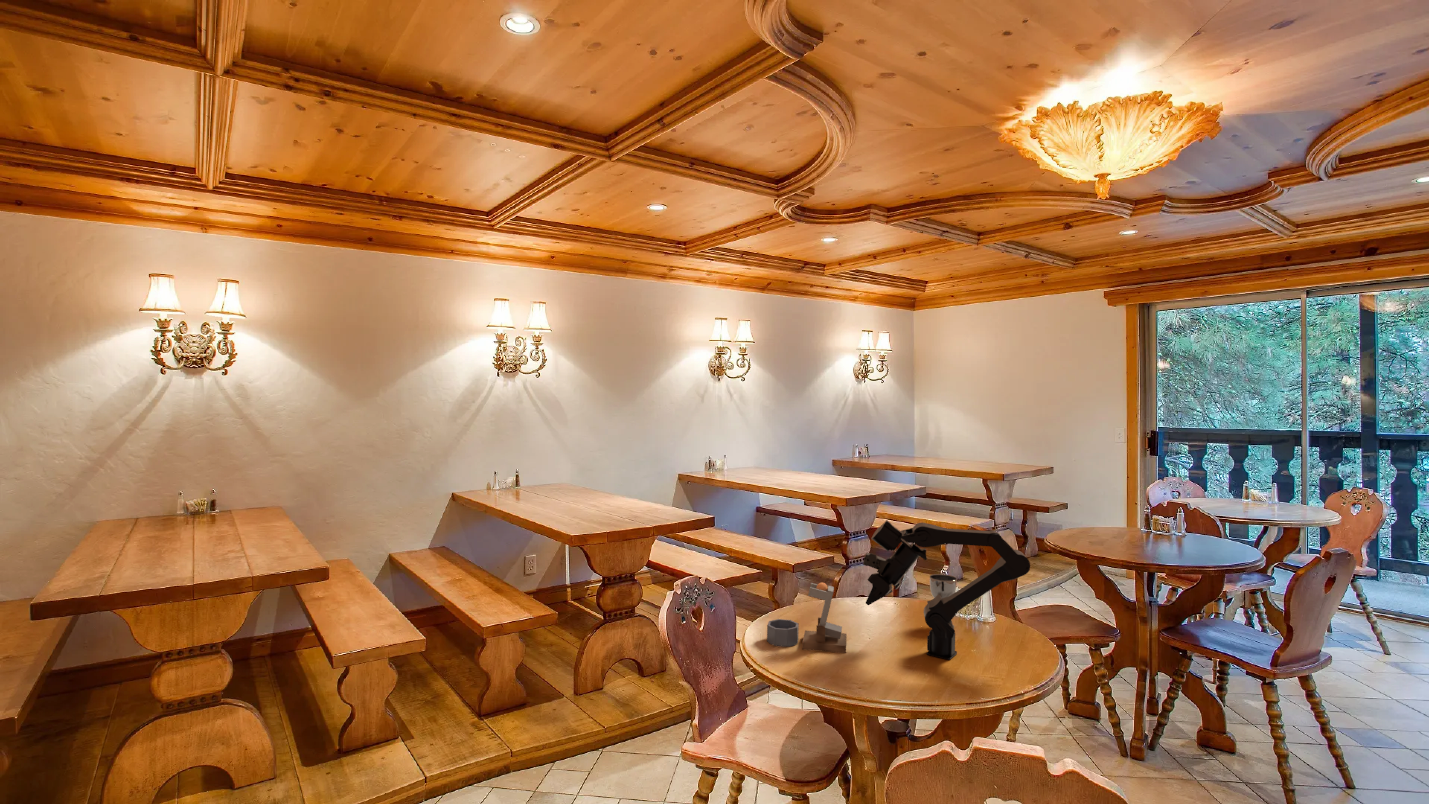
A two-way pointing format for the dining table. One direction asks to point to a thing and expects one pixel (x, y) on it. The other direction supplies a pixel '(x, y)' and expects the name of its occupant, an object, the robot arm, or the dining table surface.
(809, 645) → the base
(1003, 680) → the dining table surface
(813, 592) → the lever
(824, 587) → the ball
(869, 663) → the dining table surface
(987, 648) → the dining table surface
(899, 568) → the robot arm
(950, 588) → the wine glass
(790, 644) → the cup
